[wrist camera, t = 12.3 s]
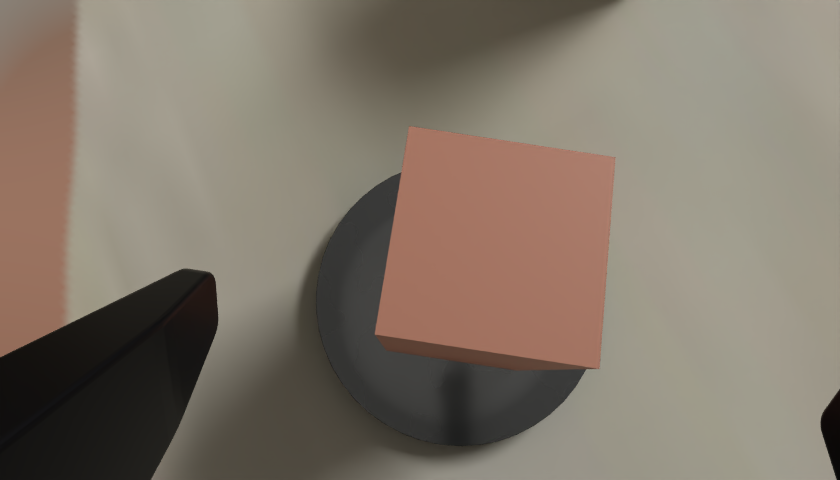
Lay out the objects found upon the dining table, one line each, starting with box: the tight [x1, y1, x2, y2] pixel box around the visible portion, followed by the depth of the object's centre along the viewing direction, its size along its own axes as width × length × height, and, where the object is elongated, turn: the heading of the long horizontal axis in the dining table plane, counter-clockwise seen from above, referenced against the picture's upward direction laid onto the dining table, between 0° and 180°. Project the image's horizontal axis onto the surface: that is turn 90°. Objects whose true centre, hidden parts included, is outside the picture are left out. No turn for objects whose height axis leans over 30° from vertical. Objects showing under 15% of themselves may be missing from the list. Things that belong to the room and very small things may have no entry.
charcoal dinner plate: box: [316, 173, 586, 446], centre depth 21 cm, size 10×10×1 cm
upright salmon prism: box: [375, 126, 615, 371], centre depth 16 cm, size 4×4×8 cm
